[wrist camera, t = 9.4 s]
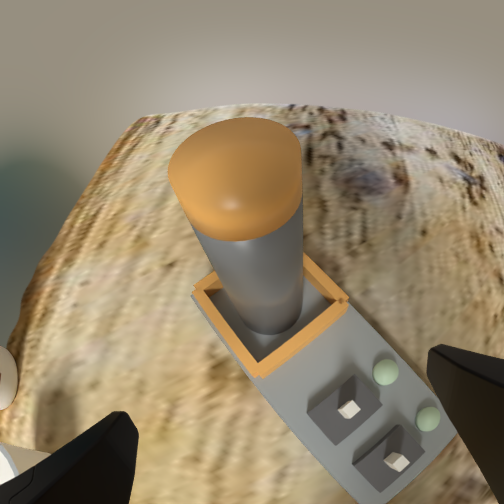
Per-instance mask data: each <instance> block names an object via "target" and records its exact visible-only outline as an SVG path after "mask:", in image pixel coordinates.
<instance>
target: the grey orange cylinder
mask: <svg viewBox="0 0 504 504" xmlns="http://www.w3.org/2000/svg"><path fill="white" fill-rule="evenodd" d="M168 178H169V181H170V184H171V186H172V188H173V190H174V192H175V194H176V196H177V198H178V200H179V202H180V204H181V206H182V208H183V210H184V212H185V214H186V216H187V218H188V220H189V222H190V224H191V226H192V228H193V230H194V232H195V234H196V236H197V237H198V239H199V241H200V243H201V245H202V247H203V249H204V251H205V253H206V255H207V257H208V259H209V261H210V262H211V264H212V266H213V268H214V270H215V272H216V274H217V276H218V278H219V279H220V281H221V283H222V285H223V287H224V289H225V291H226V292H227V294H228V296H229V298H230V300H231V302H232V303H233V305H234V307H235V309H236V311H237V312H238V314H239V316H240V318H241V320H242V321H243V323H244V324H245V325H246V326H247V327H248V328H249V329H250V330H252V331H254V332H256V333H258V334H262V335H276V334H280V333H283V332H285V331H287V330H288V329H290V328H291V327H292V326H293V325H294V324H295V323H296V322H297V320H298V319H299V317H300V315H301V312H302V305H303V193H302V162H301V147H300V143H299V141H298V139H297V137H296V136H295V134H294V133H293V132H292V131H291V130H289V129H288V128H287V127H285V126H283V125H282V124H279V123H277V122H275V121H271V120H268V119H263V118H253V117H245V118H234V119H228V120H224V121H220V122H217V123H214V124H211V125H209V126H207V127H205V128H202V129H201V130H199V131H197V132H195V133H194V134H192V135H191V136H190V137H188V138H187V139H186V140H185V141H184V142H183V143H182V144H181V145H180V146H179V147H178V148H177V149H176V151H175V152H174V154H173V155H172V157H171V159H170V162H169V166H168Z"/></svg>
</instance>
